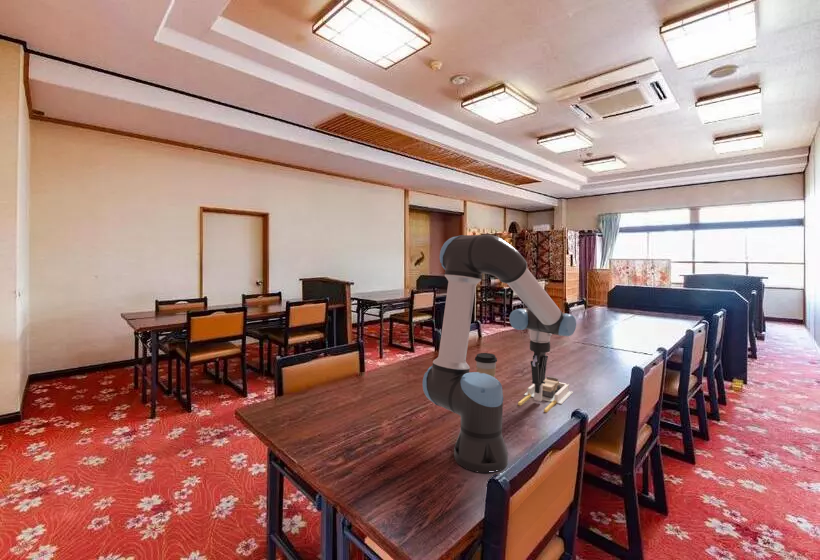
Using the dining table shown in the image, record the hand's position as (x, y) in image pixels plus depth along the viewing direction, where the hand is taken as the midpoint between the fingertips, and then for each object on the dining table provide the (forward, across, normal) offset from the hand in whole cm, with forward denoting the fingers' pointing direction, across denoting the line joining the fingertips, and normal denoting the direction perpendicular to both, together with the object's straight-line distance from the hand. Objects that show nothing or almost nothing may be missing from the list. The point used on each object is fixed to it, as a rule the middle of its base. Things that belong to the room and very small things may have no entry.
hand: (538, 399), depth 147 cm
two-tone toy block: (+1, +12, 0) cm, 12 cm away
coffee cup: (+2, 0, +23) cm, 23 cm away
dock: (+1, +7, 0) cm, 7 cm away
